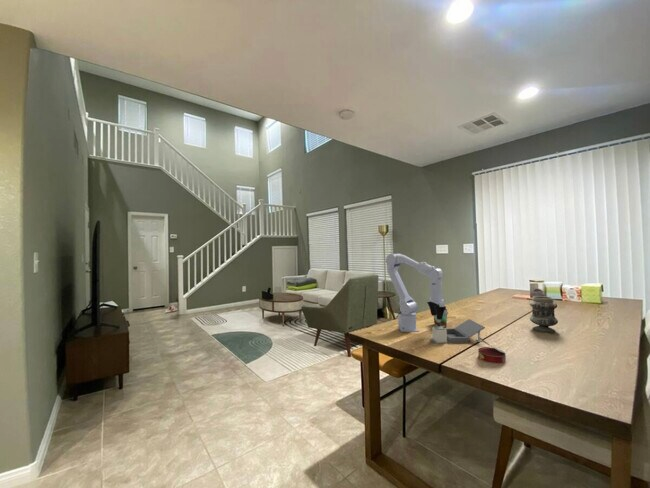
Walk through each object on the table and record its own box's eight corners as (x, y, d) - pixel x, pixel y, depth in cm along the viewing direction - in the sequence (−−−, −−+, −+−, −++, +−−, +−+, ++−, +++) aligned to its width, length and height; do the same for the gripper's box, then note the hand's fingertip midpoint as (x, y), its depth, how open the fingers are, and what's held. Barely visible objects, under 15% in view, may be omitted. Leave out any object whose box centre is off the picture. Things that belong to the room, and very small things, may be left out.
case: (450, 343, 134) (450, 328, 134) (438, 333, 148) (437, 319, 148) (485, 342, 134) (485, 327, 134) (469, 332, 149) (469, 319, 149)
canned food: (481, 364, 121) (480, 341, 125) (508, 368, 115) (506, 343, 119) (474, 360, 114) (474, 335, 118) (503, 363, 107) (501, 337, 112)
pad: (434, 344, 134) (434, 343, 134) (428, 339, 141) (428, 338, 141) (449, 343, 134) (448, 343, 134) (442, 338, 141) (442, 338, 141)
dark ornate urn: (547, 326, 155) (547, 294, 155) (564, 333, 143) (563, 299, 143) (524, 326, 157) (524, 295, 156) (539, 333, 145) (538, 299, 144)
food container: (452, 329, 155) (452, 311, 155) (441, 329, 155) (441, 311, 155) (443, 322, 167) (443, 306, 167) (433, 323, 168) (432, 306, 167)
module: (436, 342, 135) (436, 329, 135) (432, 339, 140) (432, 326, 140) (446, 342, 135) (446, 329, 135) (442, 338, 140) (442, 326, 140)
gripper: (449, 294, 137) (450, 321, 137) (438, 288, 152) (438, 313, 152) (435, 294, 137) (436, 321, 137) (425, 289, 152) (425, 313, 152)
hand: (436, 317), depth 145 cm, fingers open, 7 cm apart
